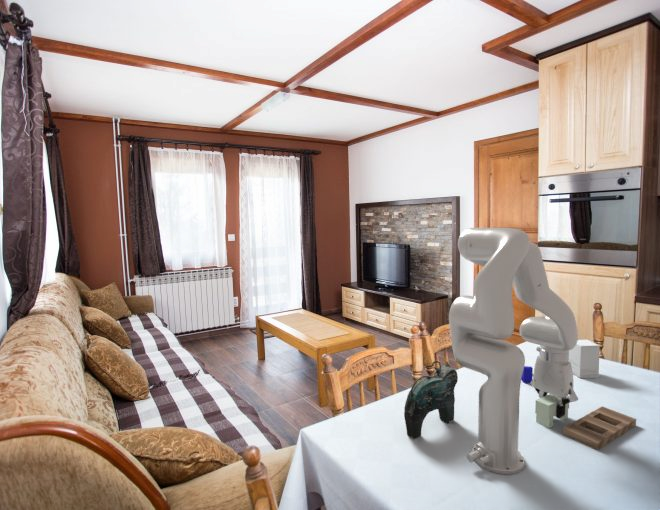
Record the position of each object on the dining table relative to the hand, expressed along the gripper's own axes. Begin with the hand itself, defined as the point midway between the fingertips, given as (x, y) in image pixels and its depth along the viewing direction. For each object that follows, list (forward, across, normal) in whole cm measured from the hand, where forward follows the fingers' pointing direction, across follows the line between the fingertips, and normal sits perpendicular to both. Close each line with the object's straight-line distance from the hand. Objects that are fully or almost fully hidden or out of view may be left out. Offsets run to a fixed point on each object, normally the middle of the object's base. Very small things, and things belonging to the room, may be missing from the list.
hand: (552, 412), depth 118 cm
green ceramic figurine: (+3, -17, -33) cm, 37 cm away
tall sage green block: (+2, 0, 0) cm, 2 cm away
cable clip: (+3, -24, +21) cm, 32 cm away
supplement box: (+3, -12, +42) cm, 44 cm away
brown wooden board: (+2, +10, +6) cm, 12 cm away
